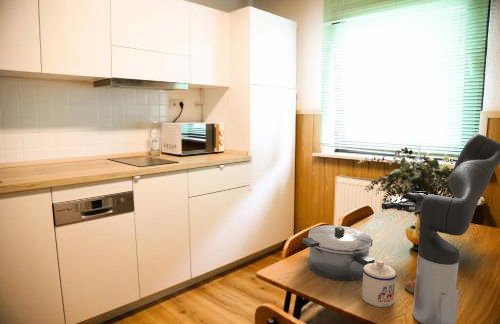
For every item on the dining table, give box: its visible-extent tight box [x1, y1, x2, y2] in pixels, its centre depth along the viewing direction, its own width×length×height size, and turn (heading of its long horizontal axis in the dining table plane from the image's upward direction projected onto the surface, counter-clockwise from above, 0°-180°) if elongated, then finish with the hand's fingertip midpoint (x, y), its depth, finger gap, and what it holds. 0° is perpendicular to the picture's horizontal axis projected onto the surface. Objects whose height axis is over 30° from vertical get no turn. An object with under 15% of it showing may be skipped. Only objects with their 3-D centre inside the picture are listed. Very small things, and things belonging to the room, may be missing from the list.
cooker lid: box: [301, 224, 372, 252], centre depth 116 cm, size 21×24×4 cm
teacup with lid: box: [361, 260, 397, 308], centre depth 98 cm, size 12×9×12 cm
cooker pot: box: [308, 228, 376, 282], centre depth 118 cm, size 31×23×10 cm
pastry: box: [404, 279, 416, 294], centre depth 103 cm, size 9×7×4 cm
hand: (383, 206), depth 124 cm, fingers closed
